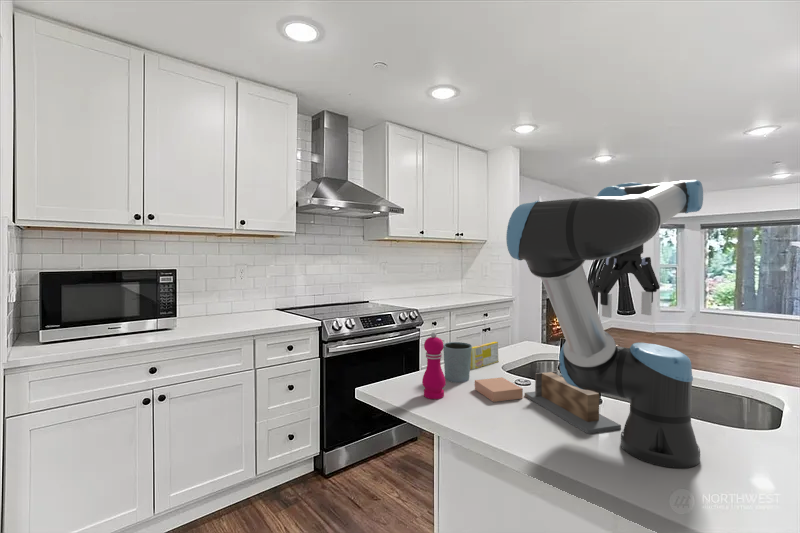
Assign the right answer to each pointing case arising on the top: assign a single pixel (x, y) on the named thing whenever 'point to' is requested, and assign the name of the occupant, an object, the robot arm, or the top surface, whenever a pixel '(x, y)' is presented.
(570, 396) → the wooden block
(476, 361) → the candy box
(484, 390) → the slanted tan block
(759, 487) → the top surface
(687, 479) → the top surface
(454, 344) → the grey-blue cup
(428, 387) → the pepper mill
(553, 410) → the charcoal mat
